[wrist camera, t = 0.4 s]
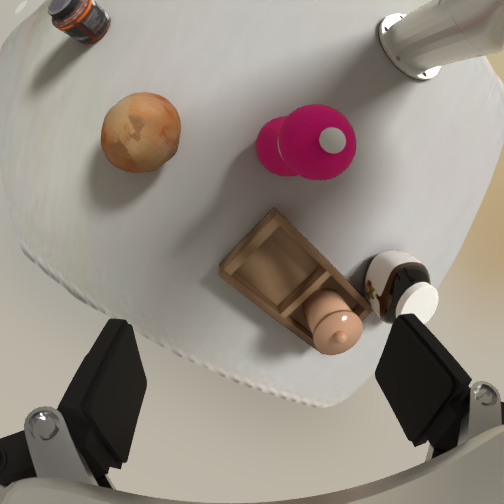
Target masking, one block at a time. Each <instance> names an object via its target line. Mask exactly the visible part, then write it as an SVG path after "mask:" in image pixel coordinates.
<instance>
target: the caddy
mask: <svg viewBox="0 0 504 504" xmlns="http://www.w3.org/2000/svg"><path fill="white" fill-rule="evenodd" d="M219 276H221V277H222V278H223V279H224V280H226V281H227V282H228V283H229V284H231V285H232V286H233V287H234V288H236V289H237V290H238V291H239V292H241V293H242V294H243V295H245V296H246V297H247V298H248V299H250V300H251V301H252V302H254V303H255V304H256V305H257V306H259V307H260V308H261V309H263V310H264V311H265V312H267V313H268V314H269V315H270V316H272V317H273V318H274V319H276V320H277V321H278V322H280V323H281V324H282V325H284V326H285V327H286V328H288V329H289V330H290V331H292V332H293V333H294V334H296V335H297V336H298V337H300V338H301V339H303V340H304V341H305V342H307V343H308V344H309V345H311V346H312V347H313V348H315V349H316V350H317V348H316V346H315V344H314V342H313V334H312V332H311V329H310V327H309V325H308V323H307V320H306V318H305V316H304V313H303V305H304V302H305V300H306V298H307V297H309V296H310V295H311V294H312V293H313V292H314V291H316V290H318V289H321V288H331V289H334V290H336V291H337V292H338V293H339V294H340V296H341V297H342V298H343V300H344V301H345V303H346V304H347V305H348V307H349V308H350V310H351V311H352V312H354V313H355V314H357V316H358V317H359V318H360V320H361V321H362V320H363V319H364V318H365V317H366V316H368V315H369V314H370V313H371V312H372V311H373V309H372V308H371V306H370V305H369V303H368V302H367V301H366V300H365V299H364V297H363V296H362V295H361V294H360V293H359V292H358V291H357V290H356V289H355V288H354V287H353V286H352V285H351V284H350V283H349V282H348V281H347V280H346V278H345V277H344V276H343V275H342V274H341V273H340V272H339V271H338V270H337V269H336V268H335V267H334V266H333V265H332V264H331V263H330V262H329V261H328V260H327V259H326V258H325V257H324V256H323V255H322V254H321V253H320V252H319V251H318V250H317V249H316V248H315V247H314V246H313V245H312V244H311V243H310V242H309V241H308V240H307V239H306V238H305V237H304V236H303V235H302V234H301V233H300V232H299V231H298V230H297V229H296V228H295V227H294V226H293V225H292V224H291V223H290V222H289V221H287V220H286V219H285V218H284V217H283V216H282V215H281V214H280V213H279V212H278V211H277V210H276V209H275V208H273V209H272V210H271V211H270V212H269V213H268V214H267V215H266V216H265V217H264V218H263V219H262V220H261V221H260V222H259V223H258V224H257V225H256V226H255V227H254V229H253V230H252V231H251V232H250V233H249V234H248V235H247V236H246V237H245V238H244V239H243V240H242V241H241V242H240V243H239V244H238V245H237V246H236V247H235V248H234V249H233V251H232V252H231V253H230V254H229V255H228V256H227V257H226V258H225V259H224V260H223V261H222V262H221V263H220V265H219ZM319 352H320V351H319ZM320 353H321V352H320ZM322 354H323V353H322Z"/></svg>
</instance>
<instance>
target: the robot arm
mask: <svg viewBox="0 0 504 504" xmlns="http://www.w3.org/2000/svg"><path fill="white" fill-rule="evenodd" d="M379 36H380V40H381V43H382V46H383V48H384V50H385V52H386V53H387V55H388V57H389V58H390V59H391V60H392V62H393V63H394V64H395V65H396V66H397V67H398V68H399V69H400V70H402V71H403V72H404V73H406V74H407V75H409V76H411V77H413V78H416V79H420V80H427V79H430V78H433V77H435V76H436V75H437V74H438V72H439V70H440V66H442V65H446V64H450V63H453V62H457V61H461V60H466V59H470V58H474V57H479V56H484V55H489V54H494V53H497V52H500V51H502V50H503V49H504V0H432V1H430V2H428V3H427V4H425V5H423V6H421V7H419V8H418V9H416V10H414V11H413V12H411V13H409V14H408V15H403V14H391V15H389V16H387V17H386V18H384V19H383V20H382V22H381V24H380V26H379ZM375 377H376V380H377V382H378V384H379V385H380V387H381V389H382V391H383V393H384V394H385V396H386V398H387V400H388V402H389V404H390V406H391V408H392V409H393V411H394V413H395V415H396V417H397V419H398V421H399V423H400V425H401V426H402V428H403V431H404V433H405V435H406V437H407V438H408V440H409V441H412V443H413V445H414V446H415V447H416V446H418V445H421V444H423V443H426V442H427V440H429V443H430V445H429V449H428V453H427V457H426V460H425V462H424V463H422V464H420V465H418V466H415V467H413V468H410V469H408V470H405V471H403V472H400V473H398V474H395V475H392V476H389V477H386V478H384V479H380V480H377V481H374V482H371V483H368V484H364V485H361V486H357V487H353V488H349V489H345V490H341V491H337V492H333V493H328V494H323V495H318V496H312V497H306V498H299V499H292V500H285V501H274V502H261V503H235V504H504V402H501V400H500V394H499V392H498V390H497V389H496V388H495V387H494V386H493V385H492V384H490V383H488V382H484V381H479V382H476V383H474V384H473V385H472V387H471V388H469V386H468V385H469V384H470V382H471V380H472V379H471V378H470V377H469V375H468V374H467V373H466V372H465V370H464V369H463V368H462V367H461V366H460V364H459V363H458V362H457V361H456V360H455V359H454V357H453V356H452V355H451V354H450V353H449V352H448V351H447V349H446V348H445V347H444V346H443V345H442V344H441V343H440V342H439V340H438V339H437V338H436V337H435V336H434V335H433V334H432V333H431V332H430V330H429V329H428V328H427V327H426V326H425V325H424V324H423V323H422V322H421V321H420V320H419V319H418V317H417V316H416V315H415V314H413V313H409V314H401V315H399V316H398V317H397V319H395V320H394V322H393V325H392V328H391V331H390V334H389V336H388V339H387V342H386V345H385V348H384V350H383V353H382V355H381V358H380V361H379V363H378V366H377V368H376V371H375ZM146 387H147V380H146V376H145V373H144V369H143V366H142V362H141V359H140V355H139V351H138V347H137V344H136V339H135V335H134V331H133V327H132V325H131V324H128V323H127V321H126V320H123V319H109V320H108V322H107V324H106V325H105V327H104V328H103V330H102V331H101V333H100V335H99V336H98V338H97V340H96V342H95V343H94V345H93V347H92V348H91V350H90V351H89V353H88V354H87V355H86V356H85V358H84V360H83V362H82V363H81V365H80V367H79V368H78V370H77V372H76V374H75V376H74V377H73V379H72V381H71V383H70V385H69V387H68V389H67V391H66V392H65V394H64V396H63V398H62V400H61V402H60V404H59V406H58V408H57V409H54V408H52V407H46V406H44V407H39V408H36V409H34V410H33V411H32V412H30V413H29V415H28V416H27V418H26V419H25V424H24V430H23V431H20V432H18V433H15V434H12V435H10V436H7V437H3V438H1V439H0V504H229V503H199V502H186V501H177V500H169V499H161V498H154V497H148V496H142V495H137V494H132V493H127V492H123V491H118V490H116V489H115V487H114V485H113V484H112V482H111V480H110V479H109V477H108V475H107V474H108V470H109V467H113V468H117V469H121V466H122V462H123V463H126V462H127V460H128V456H129V452H130V447H131V444H132V440H133V435H134V432H135V427H136V424H137V419H138V416H139V413H140V409H141V405H142V402H143V398H144V395H145V391H146ZM232 504H234V503H232Z"/></svg>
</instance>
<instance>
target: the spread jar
mask: <svg viewBox="0 0 504 504" xmlns="http://www.w3.org/2000/svg"><path fill="white" fill-rule="evenodd" d="M364 290H365V295H366V299H367V301H368V303H369V305H370V306H371V308H372V309H373V311H374V312H375V313H376V314H377V316H378V317H379V318H380V319H381V320H382V321H384V322H386V323H389V324H393V322H394V320H395V319H397V317H398V316H399V315H401V314H409V313H413V314H415V315H416V316H417V317H418V319H419V320H420V321H421V322H422V323H423V324H425V323H426V322H427V321H428V320H429V319H430V318H431V317H432V315H433V314H434V312H435V310H436V307H437V304H438V293H437V290H436V289H435V288H434V287H432V286H431V283H430V277H429V273H428V270H427V269H426V267H425V266H424V265H423V264H422V263H421V262H420V261H418V260H417V259H416V258H414V257H413V256H411V255H409V254H407V253H405V252H401V251H394V250H392V251H385V252H382V253H379V254H377V255H376V256H375V257H374V258H373V259H372V260H371V261H370V263H369V265H368V267H367V269H366V272H365V276H364Z"/></svg>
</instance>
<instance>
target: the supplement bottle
mask: <svg viewBox="0 0 504 504" xmlns="http://www.w3.org/2000/svg"><path fill="white" fill-rule="evenodd" d="M48 13H49V14H50V15H51V16H52V24H53V25H54V26H55V27H56V28H58V29H59V30H61V31H63V32H64V33H66V34H68V35H69V36H71V37H72V38H74V39H76V40H77V41H79V42H81V43H83V44H89V43H93V42H95V41H97V40H98V39H100V38H101V37H102V36H103V35H104V34H105V33H106V32H107V30H108V29H109V26H110V22H111V21H110V17H109V15H108V14H107V13H106V12H105V11H104V10H103V9H102V8H101V7H100V6H99V5H98V4H97V3H96V2H95V1H94V0H52V2H51V3H50V5H49V7H48Z"/></svg>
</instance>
